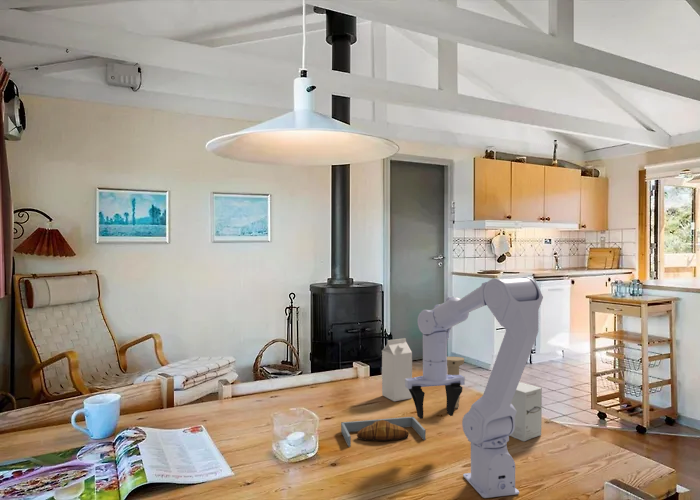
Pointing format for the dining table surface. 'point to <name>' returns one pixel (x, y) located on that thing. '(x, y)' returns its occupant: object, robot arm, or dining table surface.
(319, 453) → the dining table surface
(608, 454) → the dining table surface
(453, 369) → the handle
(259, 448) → the dining table surface
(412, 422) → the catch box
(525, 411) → the supplement box
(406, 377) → the milk carton
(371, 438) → the croissant
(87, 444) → the dining table surface
